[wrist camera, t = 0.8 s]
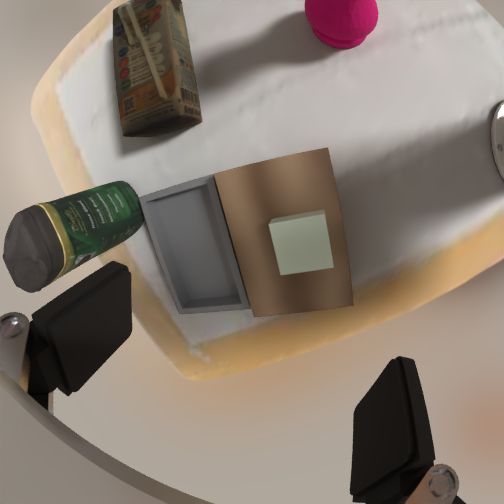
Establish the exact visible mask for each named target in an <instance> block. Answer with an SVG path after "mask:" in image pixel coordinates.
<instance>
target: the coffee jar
mask: <svg viewBox="0 0 504 504" xmlns="http://www.w3.org/2000/svg"><path fill="white" fill-rule="evenodd" d="M143 221H144V213H143V210H142V207H141V203H140V200H139V197H138V195H137V194H136V192H135V191H134V189H133V188H132V187H131V186H130V185H129V184H128V183H126V182H124V181H116V182H112V183H108V184H105V185H101V186H98V187H95V188H92V189H89V190H85V191H82V192H79V193H76V194H72V195H69V196H66V197H63V198H60V199H57V200H54V201H51V202H46V203H39V204H35V205H33V206H31V207H29V208H26V209H24V210H22V211H20V212H18V213H17V214H16V215H15V216H14V218H13V220H12V221H11V223H10V226H9V228H8V230H7V233H6V236H5V243H4V254H3V259H4V262H5V264H6V266H7V269H8V271H9V273H10V275H11V277H12V279H13V281H14V283H15V285H16V286H17V287H19V288H21V289H23V290H24V291H27V292H30V293H34V292H36V291H40V290H41V289H42V288H44V287H46V286H47V285H49V284H51V283H52V282H54V281H55V280H56V279H58V278H60V277H61V276H63V275H65V274H66V273H68V272H69V271H71V270H73V269H75V268H76V267H78V266H80V265H81V264H83V263H85V262H87V261H89V260H90V259H92V258H94V257H96V256H97V255H99V254H101V253H103V252H105V251H107V250H109V249H110V248H112V247H114V246H116V245H118V244H120V243H121V242H123V241H125V240H126V239H128V238H129V237H131V236H132V235H133V234H134V233H135V232H136V231H137V230H138V229H139V228H140V227H141V226H142V224H143Z"/></svg>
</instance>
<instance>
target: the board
mask: <svg viewBox="0 0 504 504" xmlns="http://www.w3.org/2000/svg"><path fill="white" fill-rule="evenodd" d="M214 176H215V180H216V183H217V187H218V191H219V194H220V198H221V202H222V205H223V209H224V213H225V216H226V220H227V224H228V227H229V231H230V234H231V238H232V242H233V245H234V249H235V252H236V256H237V259H238V263H239V266H240V270H241V273H242V277H243V280H244V284H245V287H246V291H247V294H248V298H249V301H250V305H251V308H252V312H253V315H254V317H261V316H272V315H282V314H291V313H300V312H308V311H316V310H324V309H332V308H339V307H346V306H353V294H352V285H351V276H350V268H349V261H348V253H347V246H346V240H345V233H344V227H343V221H342V215H341V209H340V204H339V199H338V193H337V188H336V183H335V178H334V174H333V169H332V164H331V160H330V155H329V151H328V148H323V149H318V150H312V151H307V152H302V153H298V154H293V155H288V156H284V157H279V158H275V159H270V160H266V161H262V162H258V163H253V164H249V165H245V166H242V167H238V168H234V169H230V170H226V171H223V172H219V173H215V174H214ZM323 209H324V211H325V216H326V221H327V227H328V232H329V238H330V244H331V250H332V256H333V265H334V268H328V269H321V270H314V271H308V272H301V273H294V274H287V275H280V270H279V266H278V262H277V258H276V253H275V249H274V245H273V241H272V237H271V232H270V228H269V223H270V221H271V220H272V219H274V218H279V217H285V216H290V215H295V214H301V213H306V212H312V211H318V210H323Z"/></svg>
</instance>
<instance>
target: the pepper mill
mask: <svg viewBox="0 0 504 504" xmlns="http://www.w3.org/2000/svg"><path fill="white" fill-rule="evenodd" d="M305 13H306V16H307V18H308V20H309V22H310V23H311V24H312V29H313V31H314V33H315V35H316V36H317V37H318V38H319V39H320V40H321V41H322V42H324V43H326V44H328V45H330V46H332V47H336V48H352V47H355V46H358V45H359V44H361V43H362V42H363V41H364V40H365V38H366V36H367V35H368V34H370V33H371V32H372V31H373V30H374V28H375V26H376V24H377V20H378V8H377V4H376V1H375V0H305Z"/></svg>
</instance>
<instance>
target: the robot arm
mask: <svg viewBox="0 0 504 504" xmlns="http://www.w3.org/2000/svg"><path fill="white" fill-rule="evenodd" d="M491 143H492V150H493V155H494V159H495V162H496V165H497V168H498V170H499V172H500V174H501V176H502V178H503V179H504V101H503V102H502V103H501V104H500V105H499V106H498V107H497V109H496V111H495V113H494V117H493V120H492V127H491ZM32 319H33V320H32V321H31V322H29V320H28V318H27V317H26V316H25V315H24V314H22V313H18V312H10V313H7V314H4V315H3V316H1V317H0V504H214V503H211V502H208V501H205V500H202V499H199V498H196V497H194V496H191V495H189V494H186V493H183V492H181V491H179V490H176V489H174V488H171V487H169V486H167V485H164V484H163V483H160V482H158V481H156V480H154V479H152V478H150V477H148V476H146V475H144V474H142V473H140V472H138V471H136V470H134V469H132V468H131V467H129V466H127V465H125V464H123V463H122V462H120V461H118V460H117V459H115V458H113V457H111V456H110V455H108V454H107V453H105V452H103V451H102V450H100V449H99V448H97V447H96V446H94V445H93V444H91V443H89V442H88V441H87V440H85V439H83V438H82V437H81V436H79V435H78V434H77V433H75V432H74V431H73V430H71V429H70V428H69V427H67V426H66V425H65V424H63V423H62V422H61V421H59V420H58V419H57V418H56V417H54V416H53V391H54V390H55V389H56V388H58V389H59V390H60V391H62V392H63V393H64V394H66V395H67V396H69V395H70V394H71V393H72V392H77V391H78V390H79V389H80V388H81V387H82V386H83V385H84V384H85V383H86V382H87V380H89V378H90V377H91V376H92V375H93V374H94V373H95V372H96V371H97V370H98V369H99V368H100V367H101V366H102V365H103V364H104V363H105V362H106V360H107V359H108V358H109V357H110V356H111V355H112V354H113V353H114V352H115V351H116V350H117V349H118V348H119V347H120V346H121V345H122V344H123V343H124V342H125V341H126V340H127V339H128V338H129V336H130V335H131V332H132V308H131V273H130V272H129V270H128V267H127V266H125V265H123V264H120V263H118V262H116V261H112V262H110V263H108V264H106V265H105V266H103V267H102V268H100V269H99V270H97V271H95V272H94V273H92V274H91V275H89V276H88V277H86V278H85V279H83V280H81V281H80V282H78V283H77V284H75V285H74V286H73V287H71V288H69V289H68V290H66V291H65V292H63V293H62V294H60V295H59V296H57V297H56V298H55V299H53V300H52V301H50V302H49V303H47V304H46V305H45V306H43V307H42V308H40V309H39V310H37V311H36V312H35V313H33V314H32ZM353 422H354V423H353V452H352V453H353V454H352V470H351V483H350V494H351V495H353V502H358V503H366V504H466V503H465V502H464V501H462V500H461V499H460V498H459V497H458V496H457V495H456V494H457V492H458V489H459V480H458V476H457V475H456V472H455V471H454V470H453V469H452V468H451V467H450V466H448V465H444V464H437V465H435V466H434V462H433V461H434V460H435V453H434V446H433V440H432V434H431V429H430V424H429V418H428V413H427V409H426V404H425V400H424V395H423V391H422V387H421V384H420V379H419V376H418V372H417V368H416V365H415V361H414V360H413V359H410V358H406V357H401V356H399V357H397V358H396V359H392V360H391V361H390V362H389V363H388V365H387V366H386V368H385V369H384V370H383V372H382V373H381V375H380V376H379V377H378V379H377V380H376V382H375V383H374V384H373V386H372V387H371V388H370V389H369V391H368V392H367V393H366V395H365V396H364V397H363V399H362V400H361V401H360V402H359V404H358V405H357V406H356V408H355V411H354V420H353Z"/></svg>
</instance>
